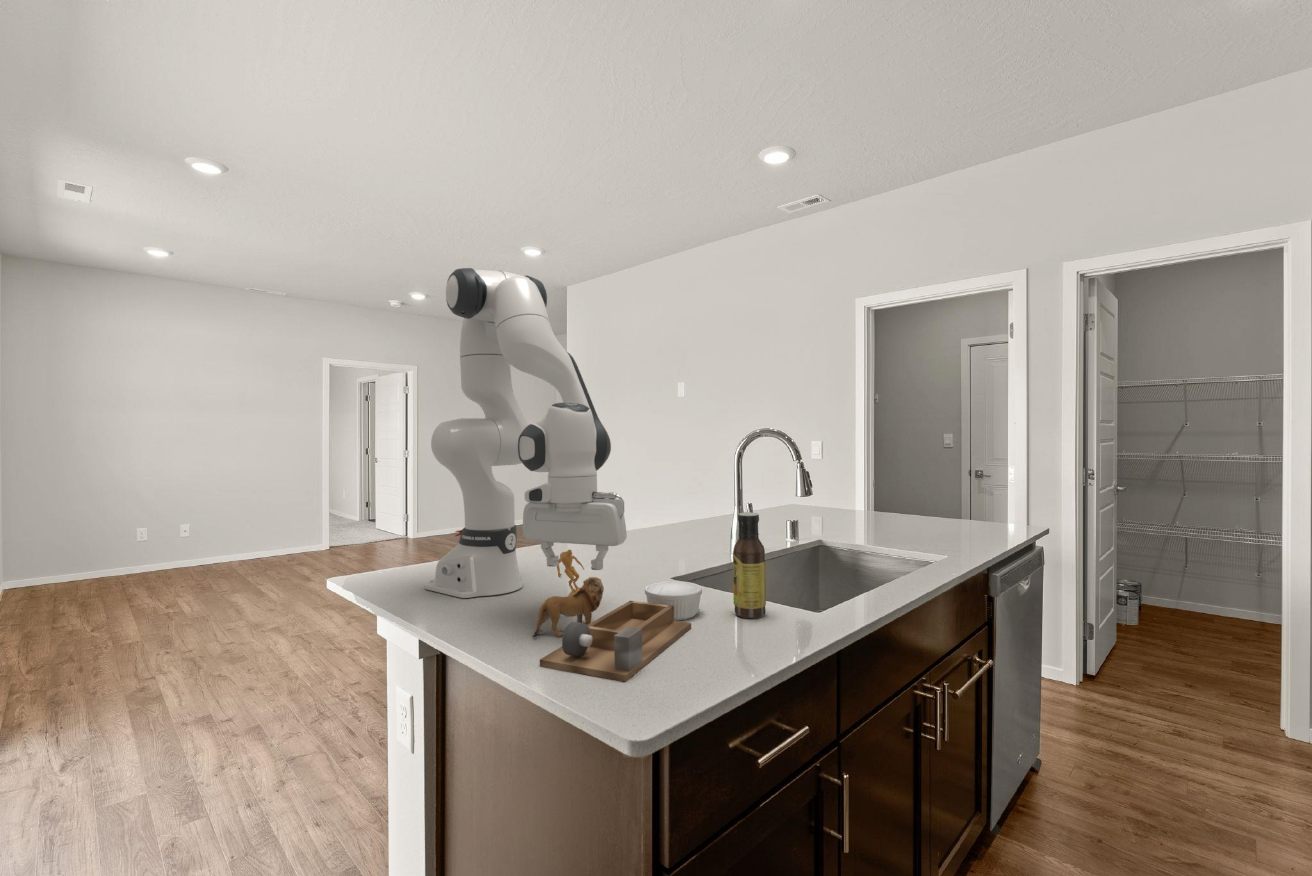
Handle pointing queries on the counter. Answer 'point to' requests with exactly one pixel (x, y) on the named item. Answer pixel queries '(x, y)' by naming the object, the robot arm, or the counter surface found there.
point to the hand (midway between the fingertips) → (574, 567)
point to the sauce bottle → (749, 569)
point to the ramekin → (676, 597)
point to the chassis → (623, 641)
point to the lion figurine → (571, 605)
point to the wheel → (576, 639)
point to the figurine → (569, 569)
